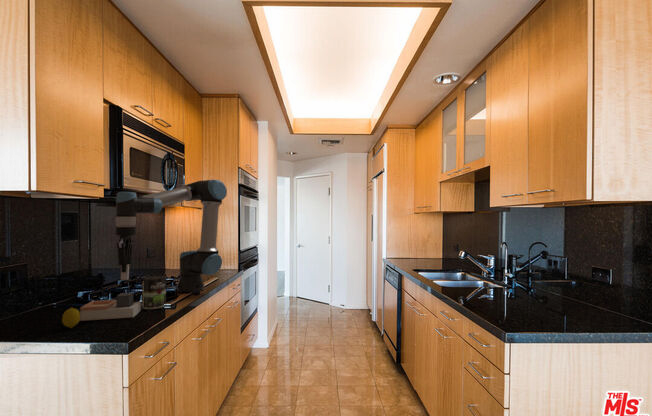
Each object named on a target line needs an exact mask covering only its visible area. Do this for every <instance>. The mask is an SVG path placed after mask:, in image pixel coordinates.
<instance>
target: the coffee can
mask: <svg viewBox="0 0 652 416" xmlns="http://www.w3.org/2000/svg"><path fill="white" fill-rule="evenodd" d="M141 281H142V300H141V309H143V310H155V309H156V310H157V309H161V308H164V307H165V306H164V304H165V303H166V304H167V275H164V274H163V275H160V274H159V275H158V274H157V275H148V276H144V277H142V280H141Z"/></svg>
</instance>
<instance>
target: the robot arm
mask: <svg viewBox="0 0 652 416" xmlns="http://www.w3.org/2000/svg"><path fill="white" fill-rule="evenodd" d="M227 190H228V189H227V186H226V185H225V184H224V182H223V181H221V180H220V179H207V180H206V179H205V180H197V181H194V182H191V183H188V184H184V185H181V186H180V187H178V188H172V189H169V190H164V191H158V192H155V193H149V194H144V195H140V196H137V192H133V191H118V192H117V193H116V199H115V204H116V206H115V211H116V213H115V219H114V221H115V226H116V227H115V235H116V236H119V240H118V242H117V243H116V247H117V248H116V249H117V257H118V266H120V281H121V280H123V281H125V280H127V281H128V280H129V279H130V265H132V258H133V257H132V255H133V247H134V242H135V241H134V240H133V239H132V236H135V235H136V233H137V231H136V227H135V226H136V224H137V223H136V222H137V221H136V220H137V214H153V215H155V214H159V213H160V212H161V211H162V209H163V206H167V205H168V206H169V205H172V204H176V203H179V202H192V201H200V203H201V205H202V216H201V217H202V218H201V230H200V242H199V243H200V245H199V248H197V249H196V250H187V251H182V252H181V253H179V254H180V255H179V279H178V282H177V284H176V287H175V290H176V289H177V291H178V292H177V291H176V292H177V293H179V292H192V293H198V292H201V291H204V290H205V283H204V280H203V277H202V275H205V276H209V275H210V276H212V275H215V274H216V273H218V272H219V271H221V268H222V265H223V258H222V256H221V255H220V254H219V249H217V242H218V241H217V237H218V226H219V225H218V224H219V223H218V222H219V211H220V210H219V209H220V206H221V205H223V200H224V199H225V198H226V197H227V195H228V194H227V193H228V191H227Z"/></svg>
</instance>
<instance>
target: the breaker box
mask: <svg viewBox="0 0 652 416" xmlns="http://www.w3.org/2000/svg"><path fill="white" fill-rule="evenodd" d="M79 310H80V311H79V313H80V320H79V322H83V321H97V320H99V321H100V320H112V319H126V318H127V319H128V318H129V319H130V318H134V317H136V316H137V315H138V314H139V313H140V312H141V311H142V301H133V305H132V306H131V307H121V308H116V299H111V300H109V299H108V300H106V299H105V300H91V301H90V302H88V303H86V304H84V305H82V306H80V309H79Z"/></svg>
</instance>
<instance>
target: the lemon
mask: <svg viewBox="0 0 652 416" xmlns="http://www.w3.org/2000/svg"><path fill="white" fill-rule="evenodd" d="M79 322H80V311H79V310H78V309H77V308H74V307H70V308H68V309H67V310H65V311H64V313H63V314H62V318H61V323H62V324H63V325H64V326H65V327H67V328H69V329H73V327H75V326H76V325H77V324H79Z"/></svg>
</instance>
